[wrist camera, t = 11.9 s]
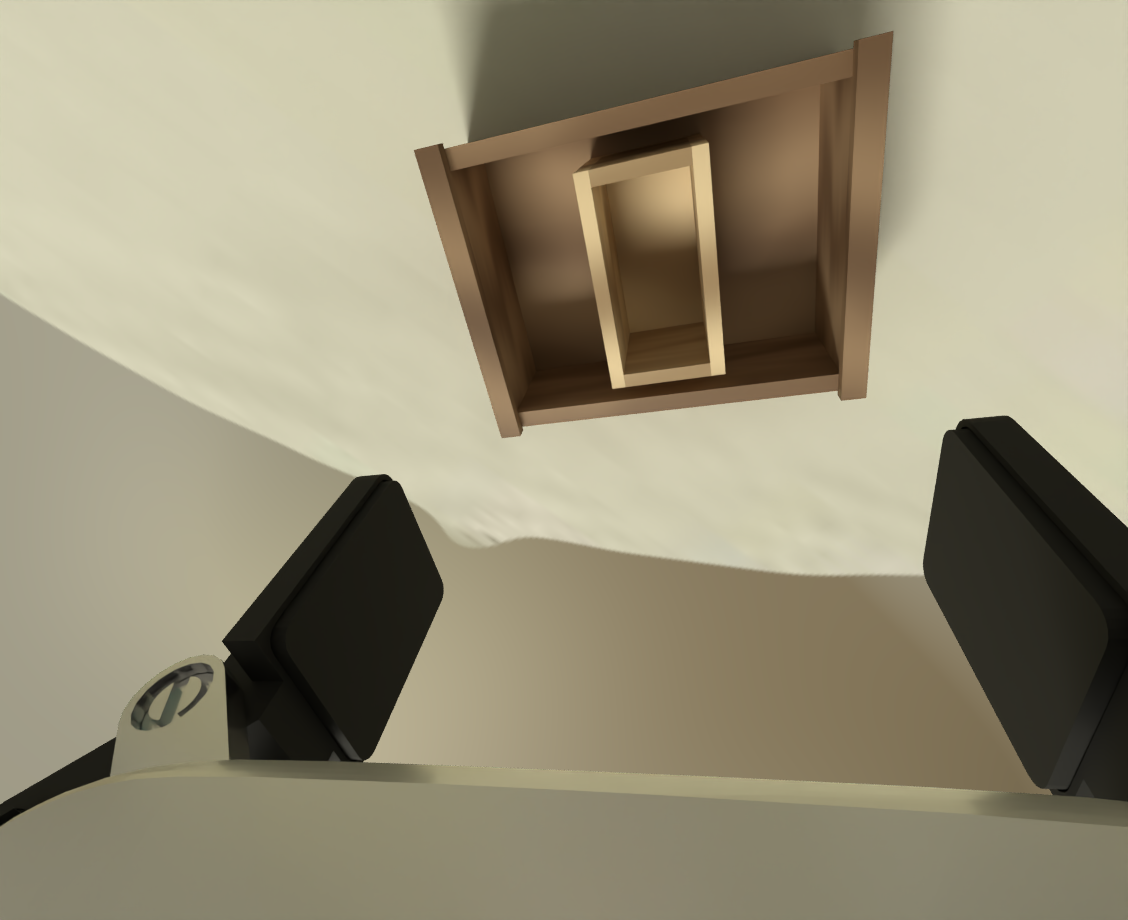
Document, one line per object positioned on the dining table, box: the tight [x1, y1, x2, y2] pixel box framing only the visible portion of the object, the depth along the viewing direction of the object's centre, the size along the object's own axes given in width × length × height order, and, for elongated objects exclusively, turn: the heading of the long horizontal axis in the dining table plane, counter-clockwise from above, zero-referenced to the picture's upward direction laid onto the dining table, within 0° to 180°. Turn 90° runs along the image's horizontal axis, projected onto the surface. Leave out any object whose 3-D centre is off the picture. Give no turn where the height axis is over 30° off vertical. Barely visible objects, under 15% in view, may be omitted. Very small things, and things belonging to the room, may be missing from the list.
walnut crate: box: [414, 31, 893, 438], centre depth 26 cm, size 13×17×7 cm
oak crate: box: [573, 133, 726, 389], centre depth 25 cm, size 9×5×6 cm, turn 12°
